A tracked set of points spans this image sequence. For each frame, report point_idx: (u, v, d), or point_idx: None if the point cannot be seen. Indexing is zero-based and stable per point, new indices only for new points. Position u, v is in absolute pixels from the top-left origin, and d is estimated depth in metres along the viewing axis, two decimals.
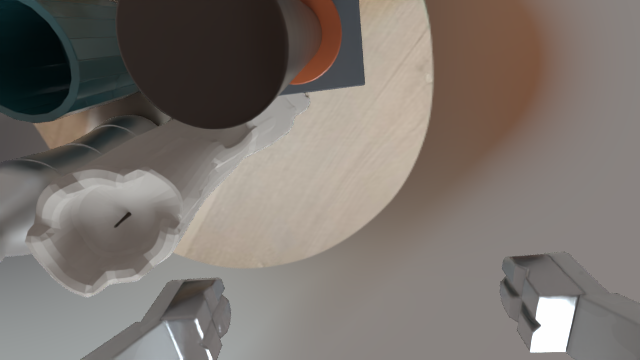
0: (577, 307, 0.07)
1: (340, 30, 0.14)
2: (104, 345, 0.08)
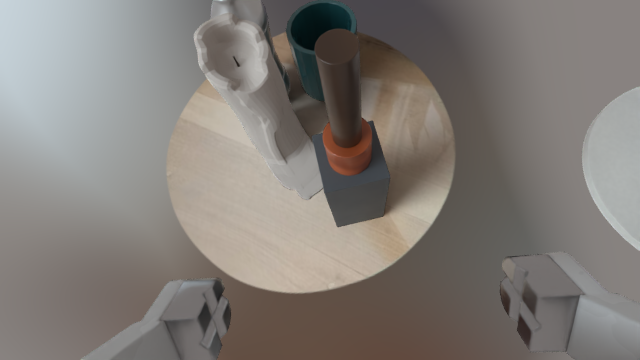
0: (577, 307, 0.07)
1: (351, 156, 0.26)
2: (104, 345, 0.08)
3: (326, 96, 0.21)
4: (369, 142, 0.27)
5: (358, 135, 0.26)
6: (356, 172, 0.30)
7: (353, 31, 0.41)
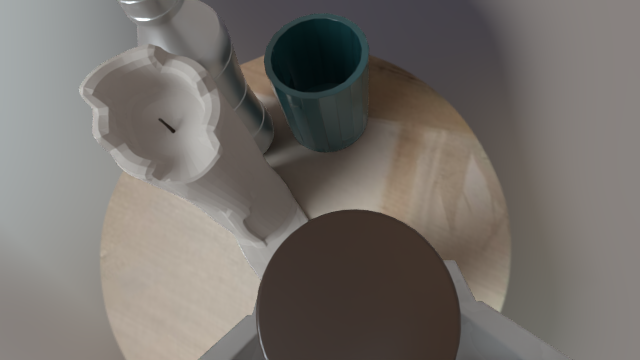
0: None
1: None
2: (224, 339, 0.07)
3: None
4: None
5: None
6: None
7: (364, 63, 0.27)
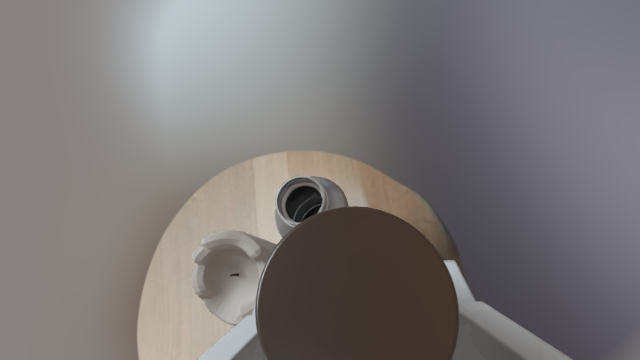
0: None
1: None
2: (224, 339, 0.07)
3: None
4: None
5: None
6: None
7: None
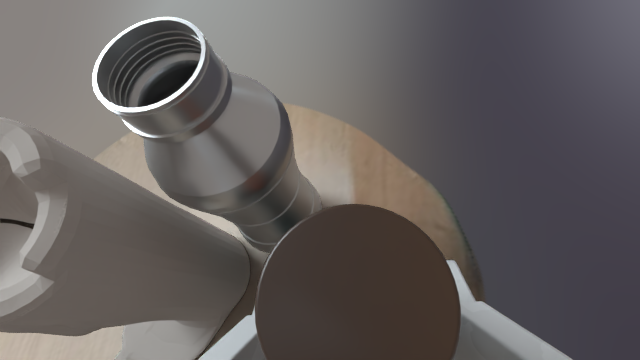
0: None
1: None
2: (224, 339, 0.07)
3: None
4: None
5: None
6: None
7: None
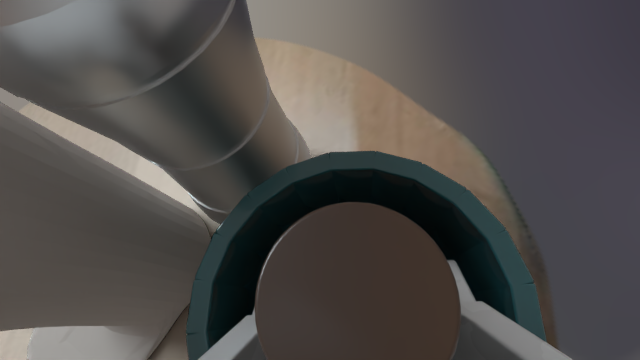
0: None
1: None
2: (224, 339, 0.07)
3: None
4: None
5: None
6: None
7: None
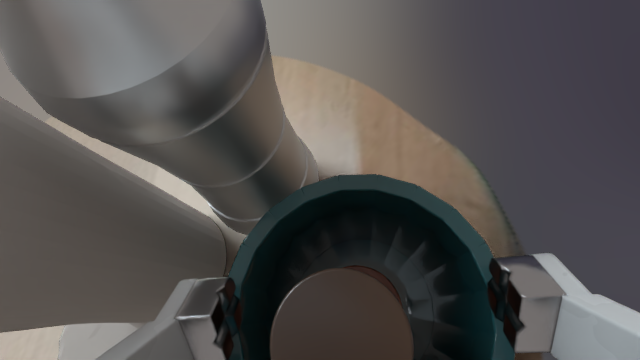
0: (560, 308, 0.07)
1: None
2: (118, 344, 0.08)
3: None
4: None
5: None
6: None
7: None
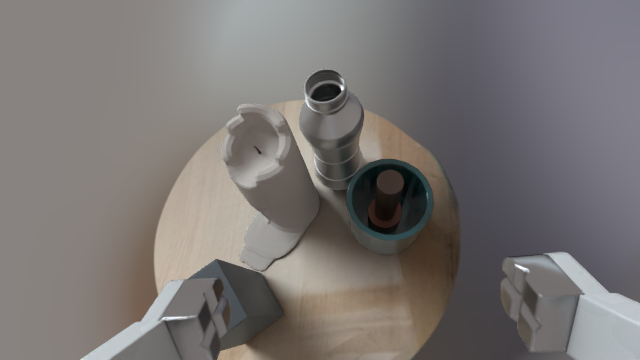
0: (577, 307, 0.07)
1: (388, 227, 0.39)
2: (104, 345, 0.08)
3: (379, 201, 0.33)
4: (400, 217, 0.39)
5: (393, 214, 0.38)
6: (389, 233, 0.42)
7: (394, 238, 0.33)
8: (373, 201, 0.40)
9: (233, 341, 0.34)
